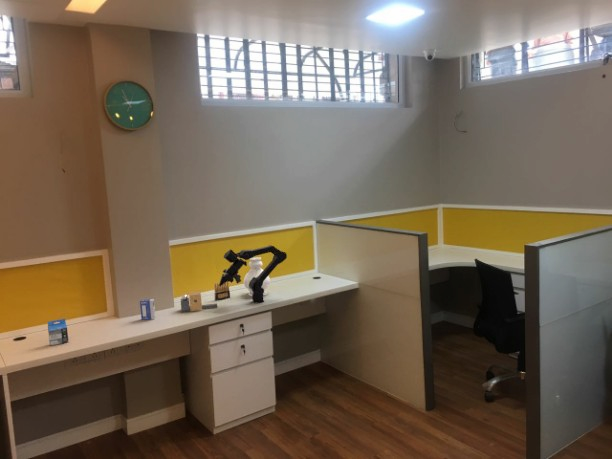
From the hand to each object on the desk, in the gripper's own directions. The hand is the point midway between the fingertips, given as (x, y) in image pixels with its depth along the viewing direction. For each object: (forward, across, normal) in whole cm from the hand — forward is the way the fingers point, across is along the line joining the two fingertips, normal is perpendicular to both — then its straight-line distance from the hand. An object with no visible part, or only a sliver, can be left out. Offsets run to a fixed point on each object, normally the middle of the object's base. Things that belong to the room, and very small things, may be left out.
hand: (219, 285), depth 337 cm
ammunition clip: (+8, +19, -11) cm, 24 cm away
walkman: (+40, -10, +21) cm, 47 cm away
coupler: (+19, 0, 0) cm, 19 cm away
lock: (+20, 0, +2) cm, 20 cm away
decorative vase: (-9, +22, -28) cm, 37 cm away
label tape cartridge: (+71, -39, +52) cm, 96 cm away
